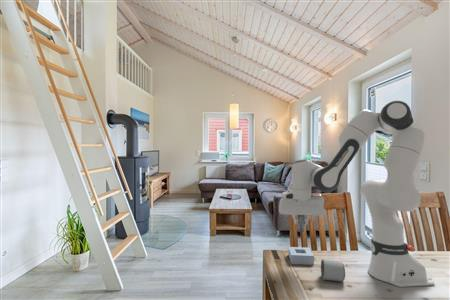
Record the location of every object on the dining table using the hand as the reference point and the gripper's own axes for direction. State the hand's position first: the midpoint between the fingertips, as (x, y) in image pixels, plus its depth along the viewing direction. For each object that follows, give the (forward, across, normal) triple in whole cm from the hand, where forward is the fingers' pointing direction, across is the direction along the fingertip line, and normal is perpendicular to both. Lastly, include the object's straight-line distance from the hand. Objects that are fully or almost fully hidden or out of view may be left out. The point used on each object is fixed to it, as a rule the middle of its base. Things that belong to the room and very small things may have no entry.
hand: (301, 224), depth 122 cm
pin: (+3, 0, 0) cm, 3 cm away
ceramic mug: (+18, -9, +15) cm, 25 cm away
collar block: (+17, 0, -2) cm, 17 cm away
